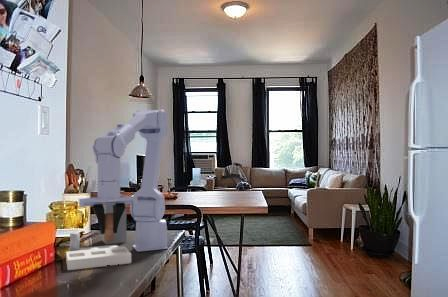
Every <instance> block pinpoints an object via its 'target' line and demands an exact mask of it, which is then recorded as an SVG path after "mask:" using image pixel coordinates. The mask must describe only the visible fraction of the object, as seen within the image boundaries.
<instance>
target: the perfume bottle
mask: <svg viewBox="0 0 448 297" xmlns="http://www.w3.org/2000/svg"><path fill="white" fill-rule="evenodd" d="M120 197H125V195H123V194H121V193H120ZM102 203H119V202H102ZM103 206H104V209H105V210H104V213H113V205H103ZM101 241H102V243H104V244H105V245H116V244H122V243H127V204H125V210H124V212H123V214H122V216H121V219H120V221H119V225H118V229H117V233H114V240H113V241H104V234H101Z"/></svg>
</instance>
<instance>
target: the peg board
mask: <svg viewBox="0 0 448 297" xmlns="http://www.w3.org/2000/svg"><path fill="white" fill-rule="evenodd" d="M65 258H66V259H65V262H66V268H67V271H75V270H81V269H91V268H98V267H108V266H107V265H110V266H118V264H119V265H126V264H132V253H131V252H130V251H129V249H128V248H127V247H126V246H125V245H124V246H123V245H121V246H119V247H110V248H100V249H89V250H79V251H69V250H68V251H66V252H65Z"/></svg>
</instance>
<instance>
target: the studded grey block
mask: <svg viewBox="0 0 448 297" xmlns="http://www.w3.org/2000/svg"><path fill="white" fill-rule="evenodd" d="M80 236H81V233H80V232H71V233H70V234H69V248H68V251H79V250H89V249H100V248H110V247H120V246H119V245H118V244H107V245H98V246H88V247H86V246H85V247H80V244H81V243H80V241H81V240H80V238H81V237H80Z"/></svg>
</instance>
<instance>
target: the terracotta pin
mask: <svg viewBox="0 0 448 297" xmlns="http://www.w3.org/2000/svg"><path fill="white" fill-rule="evenodd" d="M113 240H114V213H104V241H113Z"/></svg>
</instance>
